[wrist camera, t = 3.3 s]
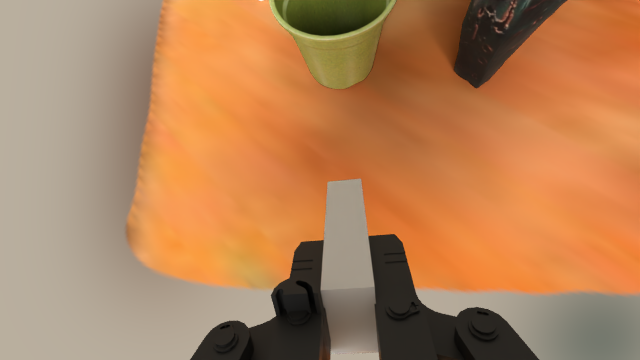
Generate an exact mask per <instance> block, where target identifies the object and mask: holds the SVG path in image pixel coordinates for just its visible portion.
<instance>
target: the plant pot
mask: <svg viewBox="0 0 640 360" xmlns="http://www.w3.org/2000/svg"><path fill="white" fill-rule="evenodd" d="M396 1H397V0H269V3H270V7H271V10H272V12H273V14H274V16H275V18H276V20H277V21H278V22H279V23H280V25H281V26H282V27H283V28H284V29H286V30H287V31H288V32H289V33H290V34H291V35H292V36H293V37H294V39H295V41H296V43H297V45H298V47H299V49H300V51H301V53H302V55H303V57H304V59H305V61H306V63H307V66H308V68H309V70H310V72H311V74H312V75H313V77H314V78H315V79H316V80H317V81H318V82H319V83H320V84H322V85H324V86H326V87H329V88H333V89H345V88H349V87H350V86H352V85H354V84H356V83H358V82H361V81H363V80H364V79H365V78H366V77H367V76H368V74H369V73H370V71H371V69H372V66H373V62H374V58H375V54H376V49H377V45H378V41H379V38H380V34H381V30H382V26H383V23H384V21H385V19H386V17H387V16H388V14H389V13H390V12H391V10H392V9H393V7H394V5H395V3H396Z"/></svg>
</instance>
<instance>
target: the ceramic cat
mask: <svg viewBox="0 0 640 360" xmlns="http://www.w3.org/2000/svg"><path fill="white" fill-rule="evenodd" d="M566 1H567V0H471V2H470V5H469V8H468V11H467V13H466V16H465V18H464V21H463V24H462V30H461V37H460V43H459V51H458V55H457V59H456V63H455V67H454V71H455V72H456V73H457V74H458V75H459V76H460V77H462V78H463V79H465V80H467V81H468V82H469V83H470V84H472V85H473V86H474V87H475V88H479V87H480V86H481V85H482V84H484V83H485V82H487V81H488V80H489V79H490V78H491V77H492V76H493V75H494V74H495V72H496V71H497V70H498V69H499V68H500V67H501V66H502V65H503V64H504V62H505V61H506V60H507V59H508V58H509V57H510V56H511V55H512V54H513V53H514V52H515V51H516V50H517V49H518V48H519V47H520V46H521V45H522V43H523V42H524V41H525V40H526V39H527V38H528V37H529V36H530V35H531V34H532V33H533V32H534V31H535V30H536V29H537V28H538V27H539V26H540V25H541V24H542V23H543V22H544V21H545V20H546V19H547V18H548V17H550V16H551V15H552V14H553V13H554V12H555V11H556V10H557V9H558V8H559V7H560V6H561V5H562V4H563V3H565V2H566Z"/></svg>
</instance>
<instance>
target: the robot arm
mask: <svg viewBox="0 0 640 360" xmlns="http://www.w3.org/2000/svg"><path fill="white" fill-rule="evenodd" d="M271 298H272V301H273V305H274V308H275V312H276V317H274V318H273V319H271V320H270V321H267V322H265V323H263V324H260V325H257V326H254V327H251V328H248V327H247V326H246V325H245V324H244V323H242V322H240V321H227V322H224V323H221V324H219V325H218V326H216V327H215V328H213V329H212V330H211V331H210V332H209V333H208V335H207V336H206V337H205V338H204V340H203V341H202V343H201V344H200V346H199V347H198V349H197V350H196V352H195V353H194V355H193V356H192V358H191V359H190V360H330V351H331V353H332V354H346V353H369V352H370V353H371V352H372V353H373V352H379V359H380V360H539V359H538V358H537V357H536V356H535V354H534V353H533V352H532V351H531V350H530V348H529V347H528V346H527V345H526V344H525V342H524V341H523V340H522V339H521V338H520V337H519V335H518V334H517V333H516V332H515V331H514V330H513V328H512V327H511V326H510V325H509V324H508V322H507V321H505V320H504V319H503V318H502V317H501V316H500V315H499V314H497V313H494V312H493V311H490V310H488V309H484V308H479V307H475V308H467V309H465V310H463V311H461V312H460V313H459V314H458V316H457V317H455V316H450V315H446V314H441V313H438V312H435V311H433V310H431V309H429V308H427V307H426V306H425V305H424V304H422V303H421V301H420V300H419V299H418V297H417V295H416V292H415V288H414V284H413V281H412V277H411V273H410V269H409V266H408V263H407V258H406V254H405V251H404V247H403V243H402V242H401V241H400V240H399V239H398V237H397V236H396V235H395V234H390V235H376V236H368V231H367V223H366V215H365V207H364V199H363V191H362V183H361V179H352V180H341V181H331V182H328V187H327V202H326V217H325V231H324V240H321V241H308V242H301V243H300V245H299V246H298V247H297V249H296V250H295V252H294V258H293V263H292V268H291V274H290V279H287V280H285V281H283V282H281V283H280V284H279V285H278V286H277V287H276V288H274V290H273V292H272V294H271Z"/></svg>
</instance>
